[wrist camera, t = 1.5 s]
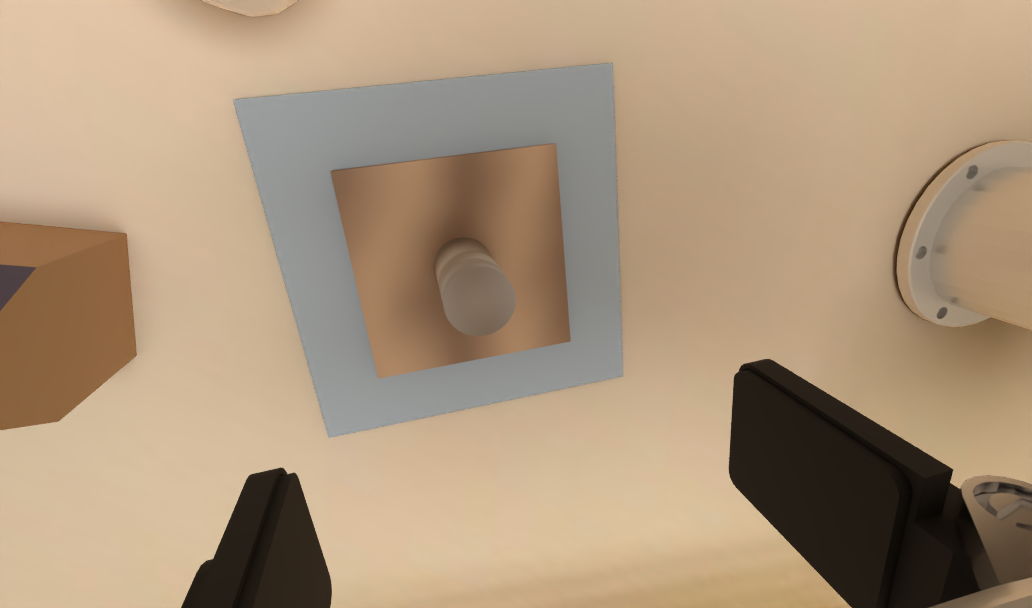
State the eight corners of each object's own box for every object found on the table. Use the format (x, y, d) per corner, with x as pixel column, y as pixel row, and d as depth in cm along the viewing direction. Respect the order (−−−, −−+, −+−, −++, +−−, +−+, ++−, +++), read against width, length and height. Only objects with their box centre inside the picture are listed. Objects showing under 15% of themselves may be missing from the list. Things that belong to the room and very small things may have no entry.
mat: (609, 63, 25) (612, 62, 25) (620, 373, 32) (623, 376, 31) (235, 100, 22) (232, 99, 22) (329, 433, 29) (328, 437, 28)
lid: (551, 143, 26) (600, 147, 19) (566, 336, 29) (610, 391, 23) (332, 170, 24) (307, 184, 18) (378, 371, 28) (371, 442, 21)
